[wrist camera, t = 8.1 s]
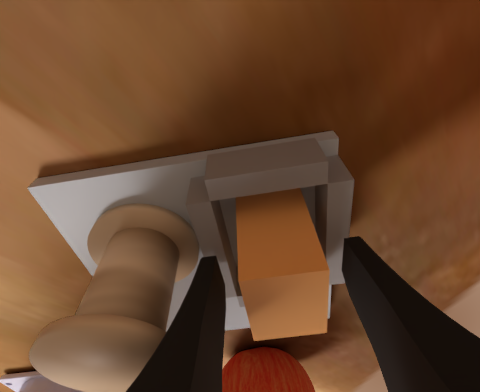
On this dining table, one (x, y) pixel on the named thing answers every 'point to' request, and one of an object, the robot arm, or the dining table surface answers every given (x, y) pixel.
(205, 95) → the dining table surface
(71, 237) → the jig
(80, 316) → the knob
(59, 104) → the dining table surface
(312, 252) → the block
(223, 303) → the robot arm
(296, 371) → the apple
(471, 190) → the dining table surface
